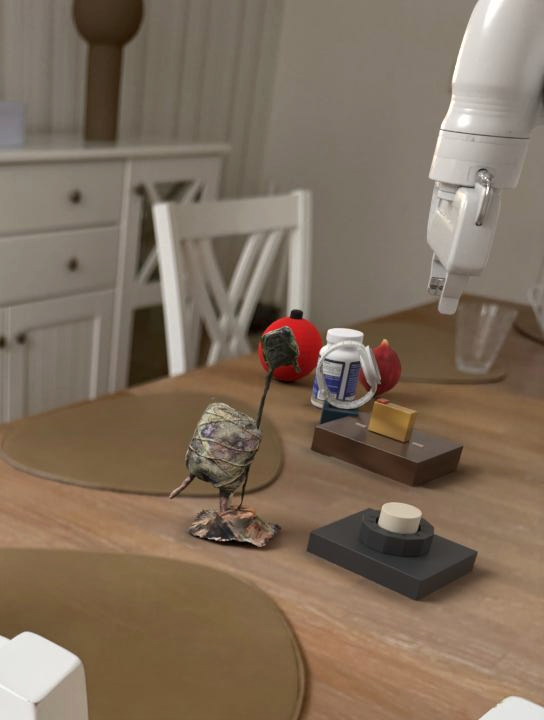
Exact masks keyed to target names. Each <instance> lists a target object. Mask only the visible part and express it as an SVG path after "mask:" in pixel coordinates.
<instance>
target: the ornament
mask: <svg viewBox="0 0 544 720" xmlns="http://www.w3.org/2000/svg"><path fill="white" fill-rule="evenodd" d="M303 316H304V312H303V310H302V309H297V308H294V309H291V311H290V314H289V316H285V317H281V318H278V319H277V320H275V321H274V322H272V323H271V324H270V325H269V326H268V327H267V328H266V329H265V330H264V332H263V333H262V336H263V335H264V334H267V333H268V332H270V331H274V330H276V329H280V328H282V327H284V326H288V327H289V328H291V330H292V332H293V334H294V337H295V340H296V343H297V345H298V347H299V348H298V350H299V357H298V359H297V363H298V365H299V368H300V370H301V372H300V373H297V372H296V371H295V369H294V367H292V366H291V365H289V366H288V367H286V366H280V367H279V368H277V369H275V370H274V372H273V377H272V378H274V379H275V380H279V381H282V382H294V381H298V380H302V379H304V378H305V377H307V376H308V375H310V374H311V373H312V372H313V371H314V370H315V369H316V368H317V364H318V358H319V353H320V350H321V349H322V348H323V341H322V337H321V333H320V332H319V330H318V328H317V327H316V325H314V324H313V323H312V322H311V321H309V319H306V318H304V317H303ZM262 336H261V337H262ZM258 358H259V362H260V364H261V366H262V368H263V369H264V371H265V372H266V373H268V370H269V366H266V365H265V362H264V358H263V355H262V347H261V343H260V342H259V344H258Z"/></svg>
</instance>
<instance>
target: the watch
mask: <svg viewBox="0 0 544 720" xmlns="http://www.w3.org/2000/svg"><path fill="white" fill-rule="evenodd" d="M345 347H350V348H352V347H354V348H356V349H357V350H358V353H359V359H360V363H361V366H362V369H363V372H364V375H365V378H366V380H367V383H368V384H369V385H370V386H372V388H371V390H370V391H369V392H367V393H366V394H365V395H364V396H362V397H359V398H358V399H354V401H350V400H343V399H336V398H333V397H331V395H330V391H329V389H328V387H327V385H326V383H325V379H324V375H323V363H322V362H323V361H324V359H325V358H326V356H328V355H329V354H330V353H331V352H333V351H335V350H337V349H338V348H339V349H340V348H345ZM372 350H373V349H372V348H371V345H367V346H366V345H365V344H364V343H363V342H362V343H361V342H358V341H353V340H347V341H340V342H339V343H335V344H333V345H332V346H330V347H329V348H328V349H327V350H326V351H325V352H324V353H323V354H322V356H321V358H320V360H319V363H318V368H317V367H315V374H316V376H317V383H318V387H319V390H320V392H321V394H322V397H323V398H324V403H323V408H322V409H321V414H320V419H319V425H320V424H324V423H327V422H330V421H334V420H337V419H340V418H344V417H347V416H350V415H351V416H358V415H359V413H360V412H359V411H360V410H359V409H360V408H359V407H361V406H364V405H365V404H366V403H368V402H369V401H370V400H371V399H372V398H374V397H373V395H374V394H375V392H376V389H377V384H381V378H380V373H379V369H378V366H377V363H376V360H375V357H374V354H373V352H372Z"/></svg>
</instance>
